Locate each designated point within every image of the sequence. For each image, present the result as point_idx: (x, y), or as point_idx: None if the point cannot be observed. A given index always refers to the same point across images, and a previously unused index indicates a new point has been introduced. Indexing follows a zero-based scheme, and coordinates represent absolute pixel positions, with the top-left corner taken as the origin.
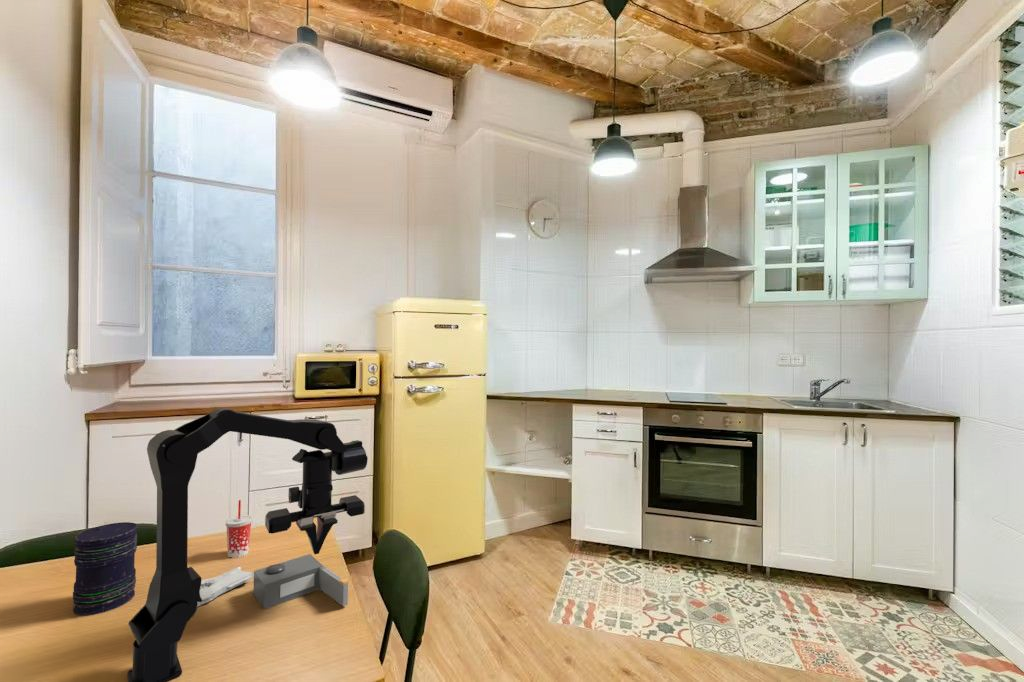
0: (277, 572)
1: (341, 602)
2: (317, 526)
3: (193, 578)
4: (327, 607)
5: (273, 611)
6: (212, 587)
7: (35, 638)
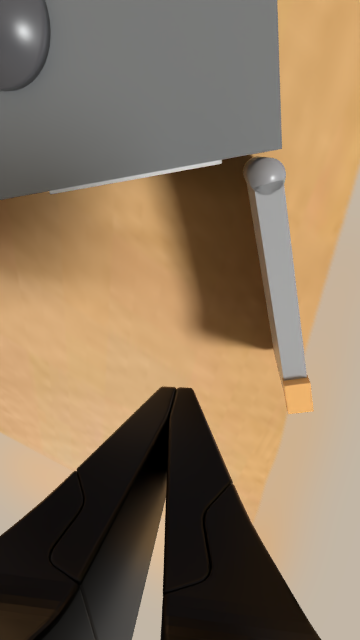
0: (7, 90)
1: (274, 351)
2: (163, 604)
3: None
4: (233, 313)
5: (64, 228)
6: None
7: None
